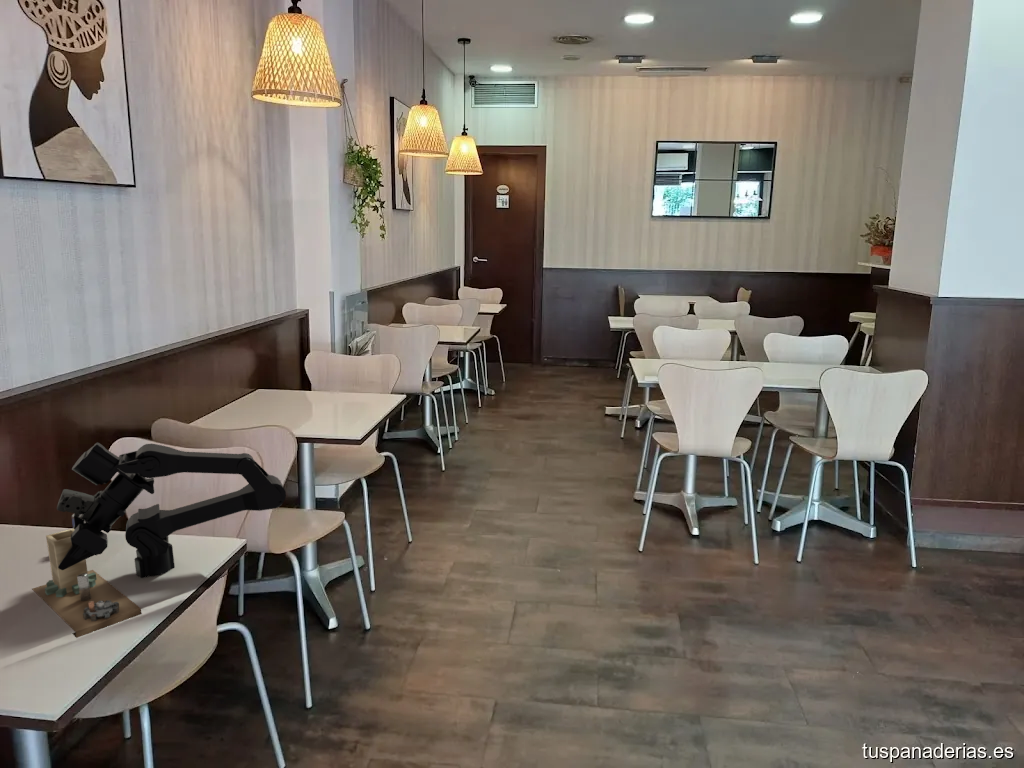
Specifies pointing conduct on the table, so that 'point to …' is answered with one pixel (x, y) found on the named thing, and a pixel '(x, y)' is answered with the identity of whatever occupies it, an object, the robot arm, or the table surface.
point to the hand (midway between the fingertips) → (61, 559)
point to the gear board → (73, 607)
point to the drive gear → (100, 610)
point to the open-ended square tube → (65, 578)
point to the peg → (84, 587)
